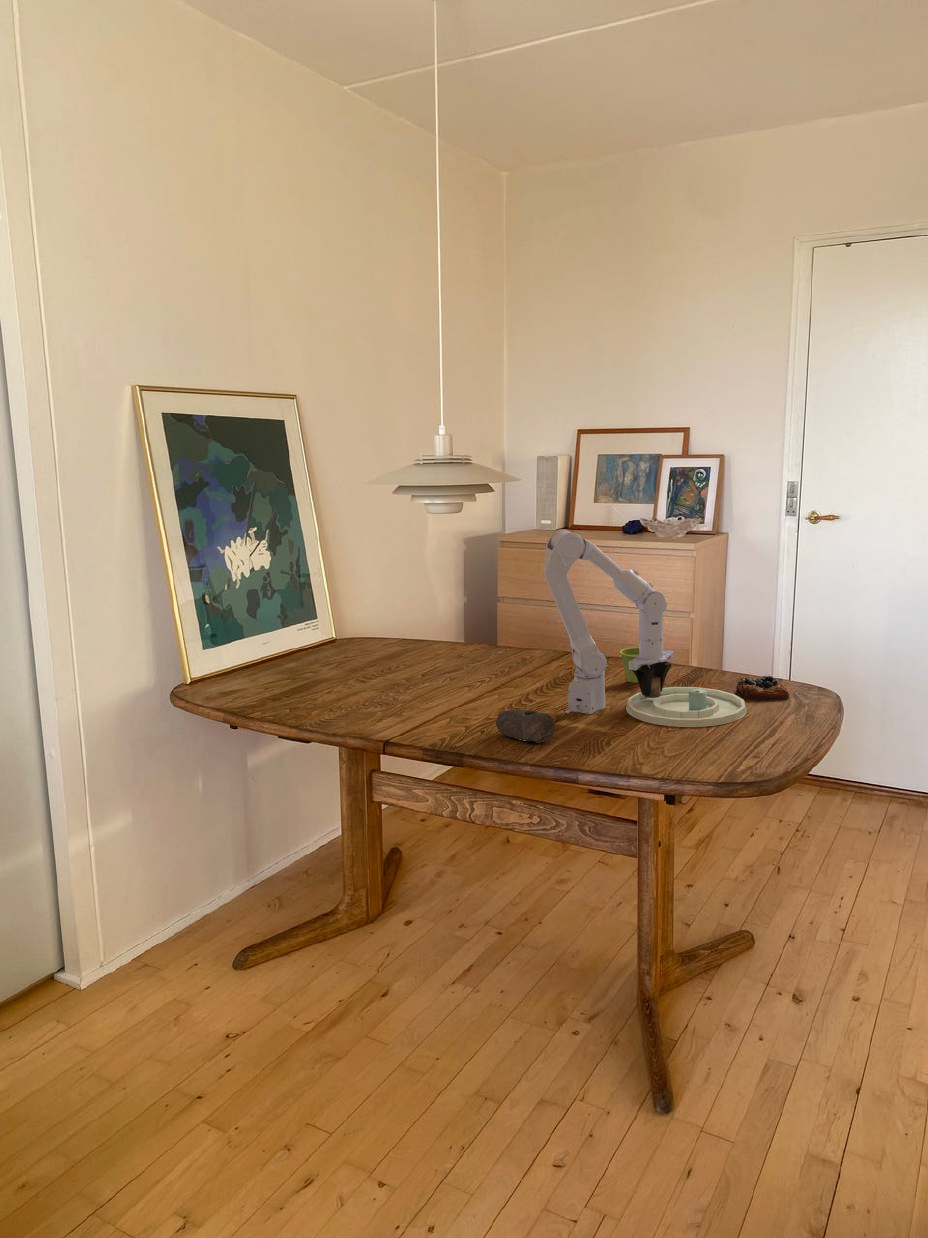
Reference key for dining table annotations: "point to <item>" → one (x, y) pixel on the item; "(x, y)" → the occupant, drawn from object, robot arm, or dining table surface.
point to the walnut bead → (654, 687)
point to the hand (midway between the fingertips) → (651, 693)
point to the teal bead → (697, 699)
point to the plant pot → (627, 656)
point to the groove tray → (686, 708)
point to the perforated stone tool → (526, 725)
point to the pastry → (761, 689)
